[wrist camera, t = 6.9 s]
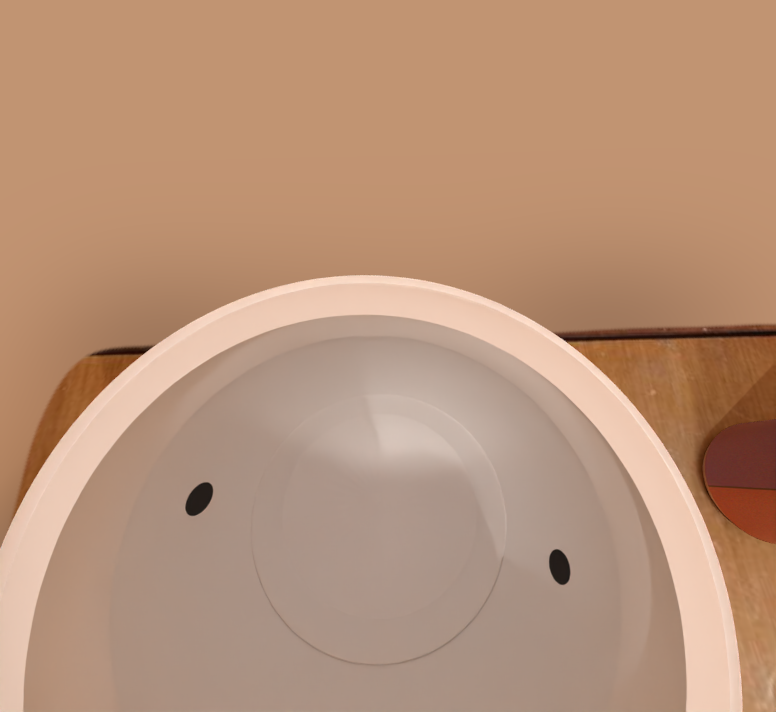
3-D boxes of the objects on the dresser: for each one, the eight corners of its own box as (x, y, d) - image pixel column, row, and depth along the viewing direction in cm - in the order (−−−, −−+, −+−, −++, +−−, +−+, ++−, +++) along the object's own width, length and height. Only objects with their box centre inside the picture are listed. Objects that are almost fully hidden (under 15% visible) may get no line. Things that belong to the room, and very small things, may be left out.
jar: (291, 635, 18) (-145, 1377, 3) (273, 422, 21) (2, 321, 6) (505, 592, 18) (945, 1078, 4) (457, 389, 21) (600, 224, 7)
